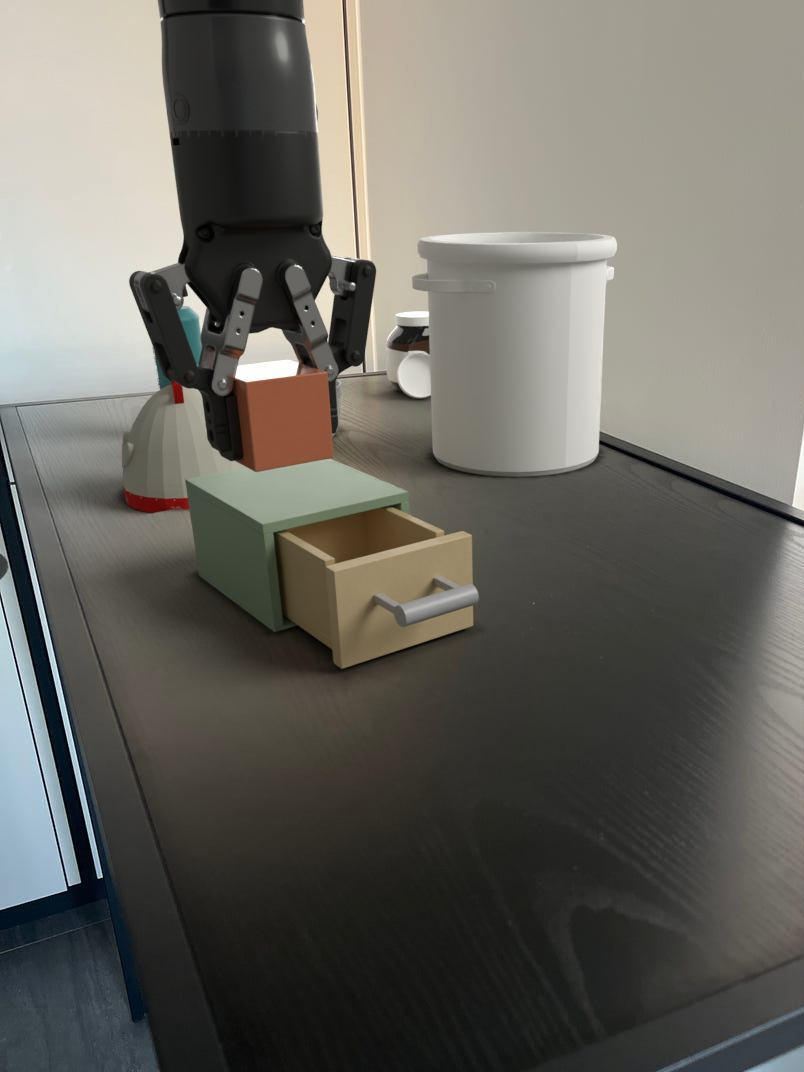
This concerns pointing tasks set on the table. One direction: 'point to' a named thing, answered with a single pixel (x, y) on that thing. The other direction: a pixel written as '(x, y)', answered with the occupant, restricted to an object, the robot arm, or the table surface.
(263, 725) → the table surface
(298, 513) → the cabinet
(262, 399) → the block
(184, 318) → the beverage bottle
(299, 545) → the drawer
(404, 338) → the spread jar
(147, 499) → the kitchen timer
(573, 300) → the bucket
